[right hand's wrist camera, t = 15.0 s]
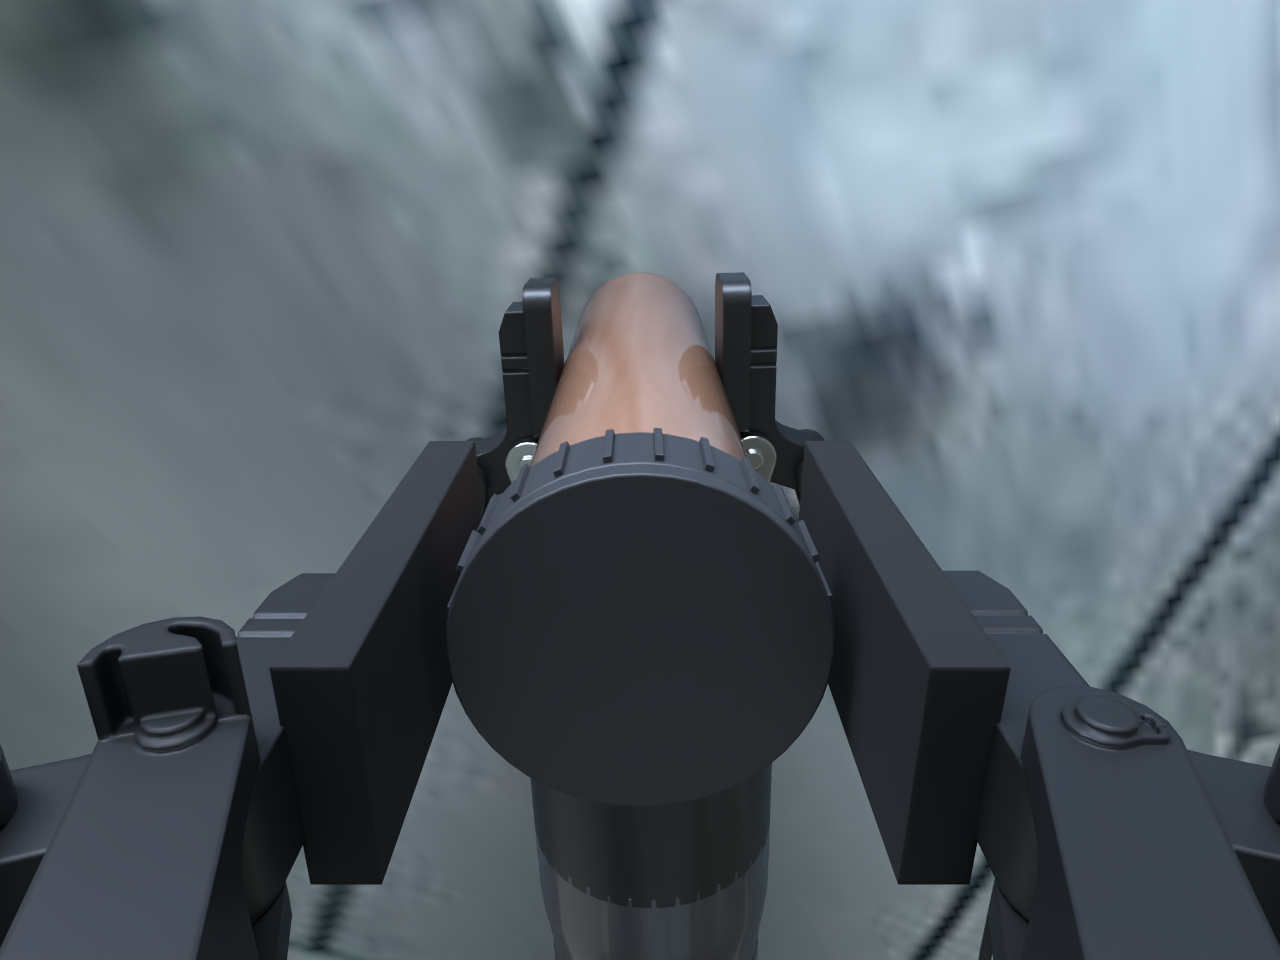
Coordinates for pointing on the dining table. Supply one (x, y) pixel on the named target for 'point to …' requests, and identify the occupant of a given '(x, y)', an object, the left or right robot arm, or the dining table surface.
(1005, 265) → the dining table surface
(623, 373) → the jar
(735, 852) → the left robot arm
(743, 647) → the lid
